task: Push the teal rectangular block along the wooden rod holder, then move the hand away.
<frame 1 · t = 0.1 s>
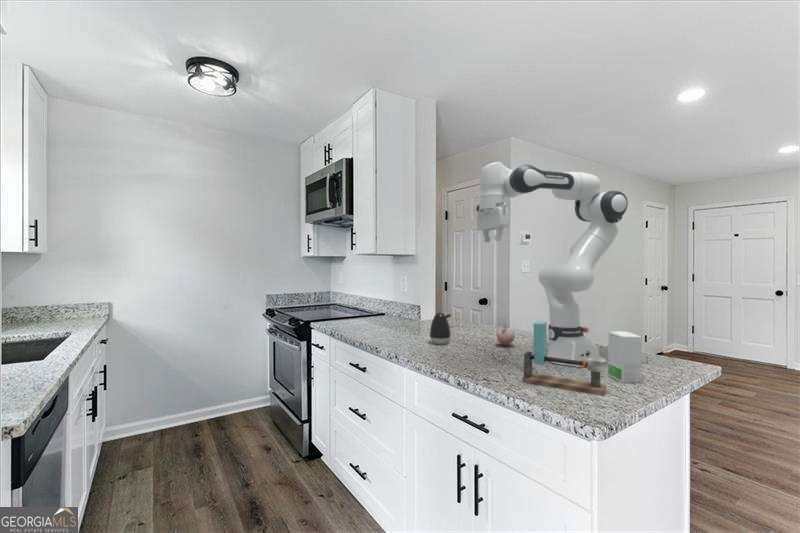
hand: (492, 241, 145), 48 cm above the worktop, tool pointing down, fingers open, 8 cm apart
wooden rod holder: (562, 385, 123), on the worktop
skincare box: (624, 379, 129), on the worktop
teal rectangular block: (540, 343, 127), point 13 cm above the worktop, slide at 0.0 cm
pump dispenser: (440, 343, 187), on the worktop
decorative fruit: (505, 346, 180), on the worktop
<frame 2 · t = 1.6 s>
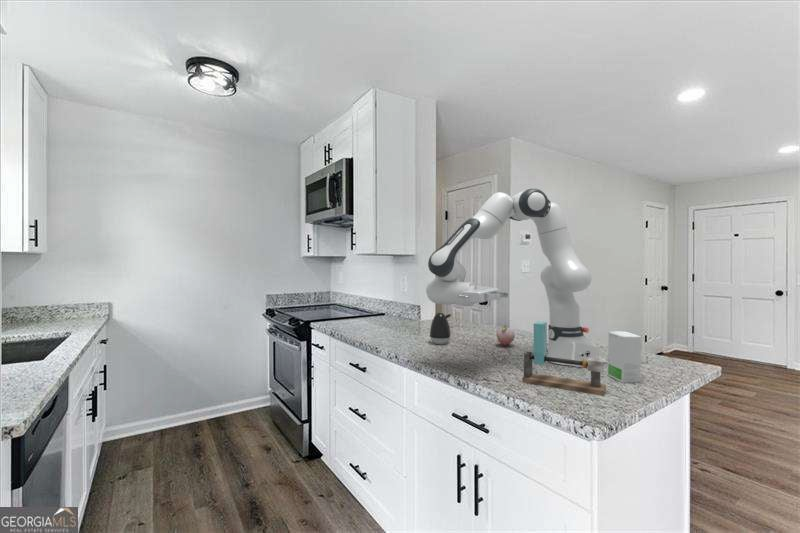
hand: (504, 296, 133), 28 cm above the worktop, tool horizontal, fingers open, 7 cm apart
nothing on the worktop moved.
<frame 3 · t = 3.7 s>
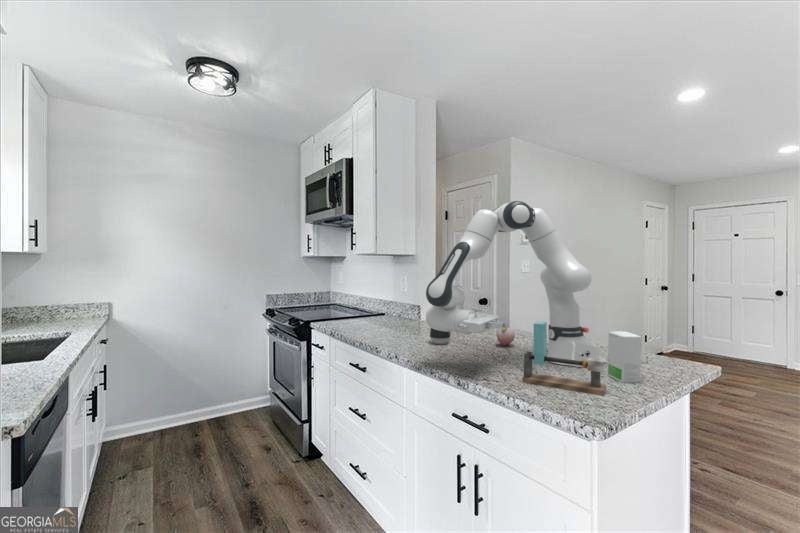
hand: (503, 325, 133), 18 cm above the worktop, tool horizontal, fingers closed
nothing on the worktop moved.
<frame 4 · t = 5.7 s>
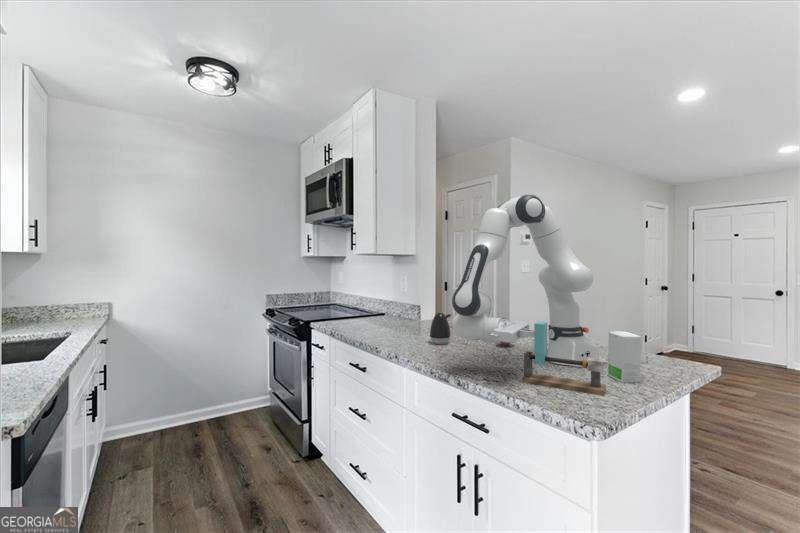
hand: (536, 333, 128), 16 cm above the worktop, tool horizontal, fingers closed, pressing on teal rectangular block
teal rectangular block: (541, 343, 127), point 13 cm above the worktop, slide at 0.2 cm, touching gripper
everything else where it was.
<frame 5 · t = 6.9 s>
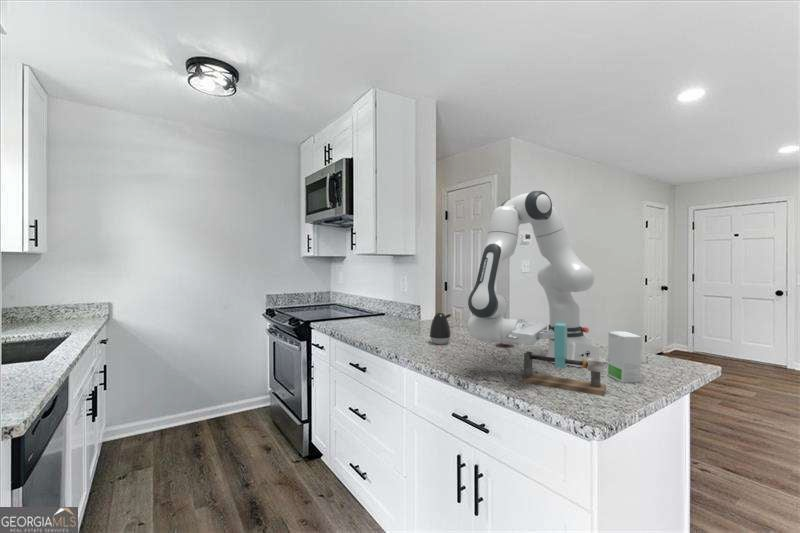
hand: (555, 335, 124), 16 cm above the worktop, tool horizontal, fingers closed, pressing on teal rectangular block
teal rectangular block: (560, 345, 123), point 13 cm above the worktop, slide at 6.4 cm, touching gripper
everything else where it was.
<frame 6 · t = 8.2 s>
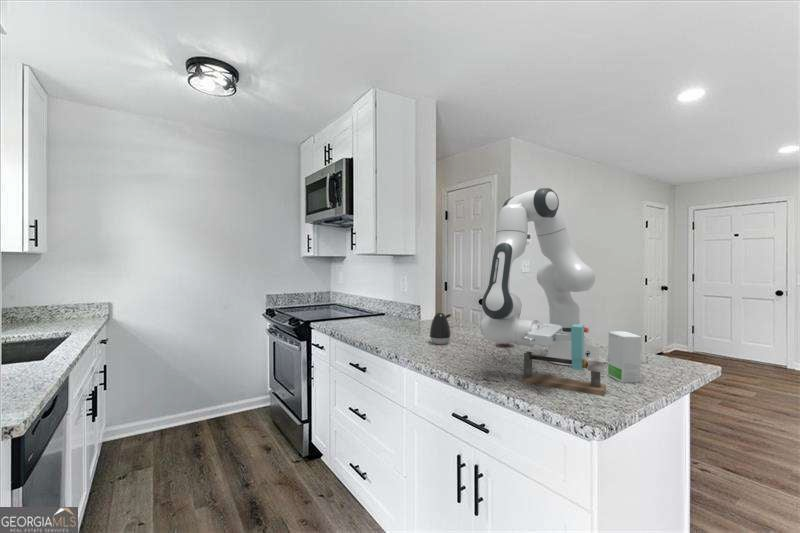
hand: (572, 337, 121), 16 cm above the worktop, tool horizontal, fingers closed, pressing on teal rectangular block
teal rectangular block: (577, 347, 121), point 13 cm above the worktop, slide at 11.5 cm, touching gripper
everything else where it was.
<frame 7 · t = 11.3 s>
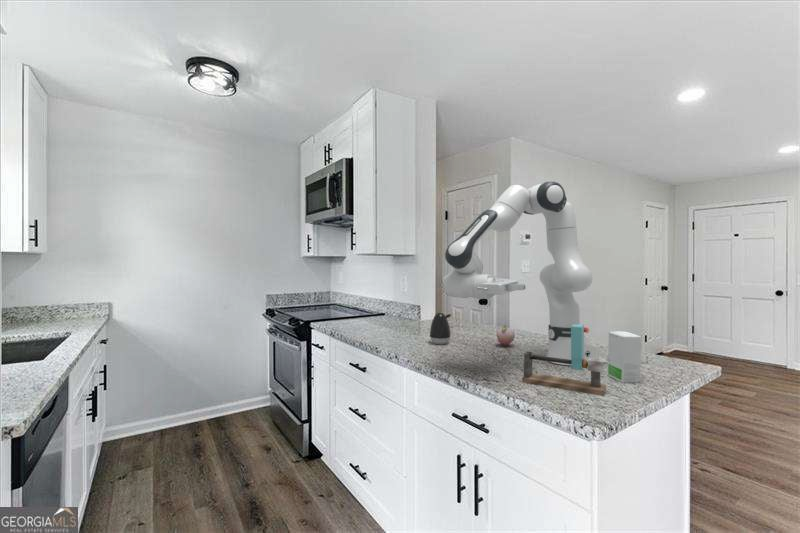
hand: (524, 287, 129), 31 cm above the worktop, tool horizontal, fingers closed
teal rectangular block: (577, 347, 121), point 13 cm above the worktop, slide at 11.4 cm
everything else where it was.
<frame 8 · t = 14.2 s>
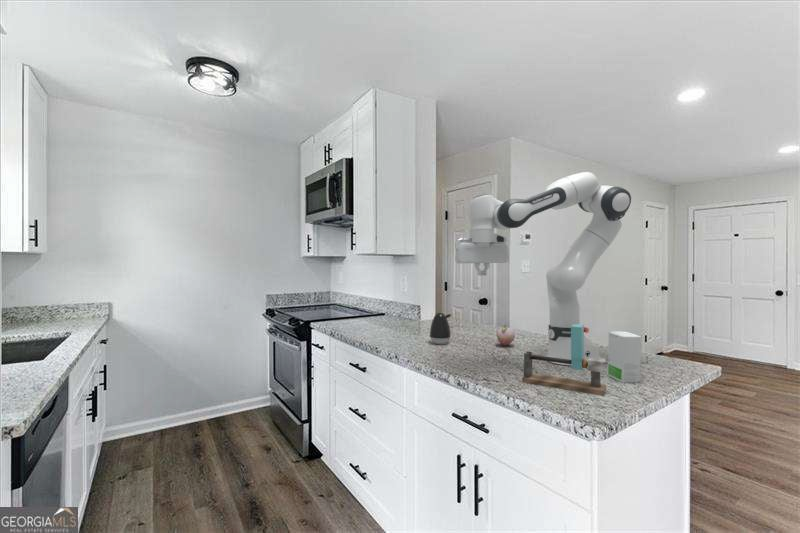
hand: (482, 275, 143), 35 cm above the worktop, tool pointing down, fingers closed
nothing on the worktop moved.
at the end: teal rectangular block slide at 11.4 cm; skincare box moved 0.2 cm from its start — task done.
